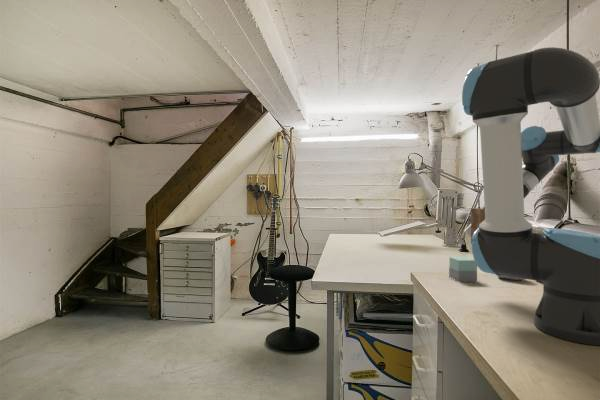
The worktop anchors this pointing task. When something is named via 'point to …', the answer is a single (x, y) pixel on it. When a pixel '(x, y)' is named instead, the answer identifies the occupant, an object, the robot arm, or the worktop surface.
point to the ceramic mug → (510, 278)
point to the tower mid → (463, 264)
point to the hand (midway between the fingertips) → (472, 234)
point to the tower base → (463, 275)
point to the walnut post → (476, 219)
